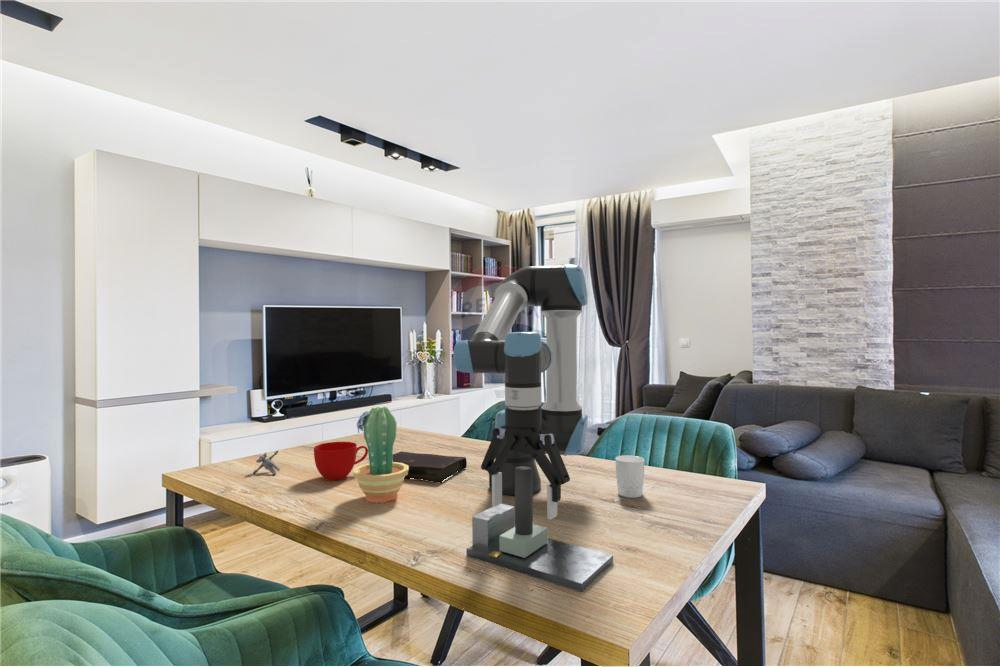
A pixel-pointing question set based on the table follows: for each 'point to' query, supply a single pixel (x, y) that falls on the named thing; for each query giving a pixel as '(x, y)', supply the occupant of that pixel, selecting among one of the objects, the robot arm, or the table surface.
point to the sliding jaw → (523, 520)
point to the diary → (430, 465)
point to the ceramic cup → (336, 459)
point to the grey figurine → (267, 463)
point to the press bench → (535, 553)
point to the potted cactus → (379, 457)
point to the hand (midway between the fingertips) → (523, 510)
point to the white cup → (630, 475)
